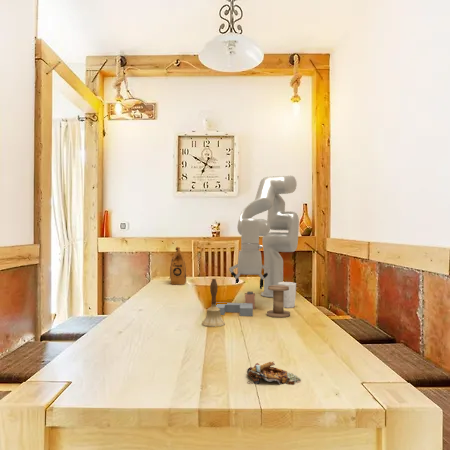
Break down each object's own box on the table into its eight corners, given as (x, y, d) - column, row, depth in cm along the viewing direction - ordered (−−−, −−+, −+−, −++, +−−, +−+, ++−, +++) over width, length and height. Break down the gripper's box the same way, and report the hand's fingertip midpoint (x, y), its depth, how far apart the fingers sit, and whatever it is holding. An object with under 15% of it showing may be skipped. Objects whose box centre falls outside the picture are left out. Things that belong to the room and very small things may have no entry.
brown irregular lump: (302, 387, 83) (302, 370, 83) (246, 386, 83) (246, 370, 83) (297, 374, 90) (297, 359, 90) (246, 374, 90) (246, 358, 90)
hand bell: (230, 324, 136) (230, 278, 136) (213, 328, 129) (213, 281, 130) (213, 320, 141) (213, 276, 141) (196, 324, 135) (196, 278, 135)
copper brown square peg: (245, 307, 165) (245, 291, 165) (254, 307, 164) (254, 291, 164) (245, 309, 161) (245, 292, 161) (254, 309, 160) (254, 292, 160)
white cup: (295, 304, 170) (295, 282, 170) (296, 308, 162) (296, 284, 162) (277, 304, 171) (277, 281, 171) (277, 308, 163) (278, 284, 163)
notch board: (252, 310, 157) (252, 303, 158) (252, 316, 148) (252, 308, 148) (213, 309, 158) (213, 302, 158) (211, 315, 148) (211, 307, 148)
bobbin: (266, 312, 155) (266, 284, 155) (288, 312, 154) (288, 285, 154) (267, 317, 146) (267, 288, 146) (291, 317, 145) (291, 288, 145)
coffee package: (168, 285, 225) (168, 247, 226) (170, 282, 238) (170, 246, 238) (185, 285, 226) (185, 247, 226) (186, 282, 238) (186, 246, 239)
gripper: (270, 247, 166) (269, 287, 165) (230, 247, 167) (229, 286, 166) (271, 248, 158) (270, 290, 158) (229, 247, 159) (228, 289, 159)
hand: (249, 288), depth 162 cm, fingers open, 9 cm apart
